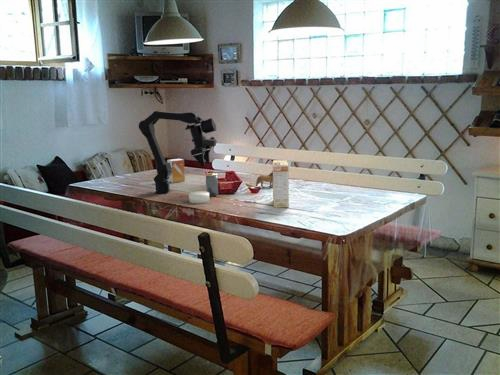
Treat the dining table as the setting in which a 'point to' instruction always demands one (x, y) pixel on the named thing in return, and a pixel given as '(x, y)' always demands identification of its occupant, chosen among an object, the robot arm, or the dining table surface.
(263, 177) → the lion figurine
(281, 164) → the coffeecake box
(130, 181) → the dining table surface
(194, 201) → the ceramic trivet
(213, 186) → the grey tin
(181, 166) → the small box
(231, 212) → the dining table surface
